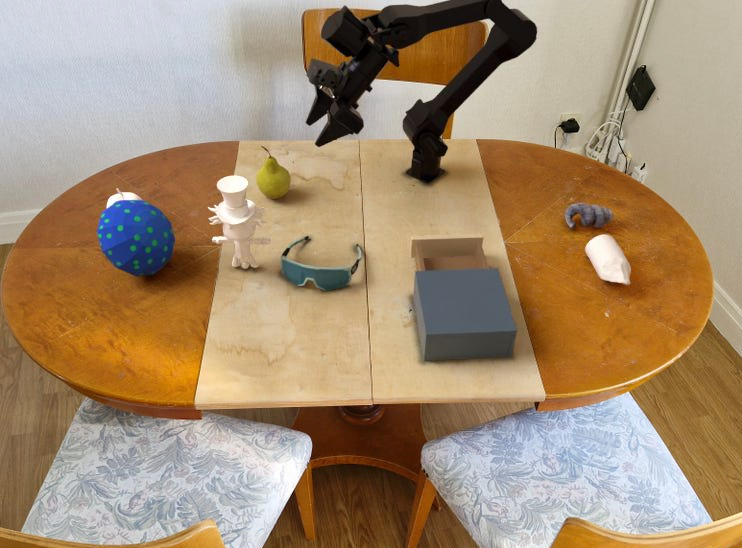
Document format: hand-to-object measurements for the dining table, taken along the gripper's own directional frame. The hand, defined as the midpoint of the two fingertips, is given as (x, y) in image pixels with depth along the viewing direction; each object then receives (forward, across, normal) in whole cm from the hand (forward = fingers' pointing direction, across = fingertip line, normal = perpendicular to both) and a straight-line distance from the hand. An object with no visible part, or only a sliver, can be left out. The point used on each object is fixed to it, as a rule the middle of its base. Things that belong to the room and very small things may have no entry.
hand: (311, 134), depth 136 cm
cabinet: (0, +46, +22) cm, 51 cm away
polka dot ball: (+34, +16, -18) cm, 42 cm away
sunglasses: (+13, +24, +7) cm, 28 cm away
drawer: (-2, +33, +23) cm, 40 cm away
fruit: (+15, -1, +2) cm, 16 cm away
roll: (-20, +40, +45) cm, 64 cm away
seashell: (-23, +24, +48) cm, 58 cm away
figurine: (+22, +21, -4) cm, 31 cm away
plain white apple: (+35, +2, -20) cm, 40 cm away
